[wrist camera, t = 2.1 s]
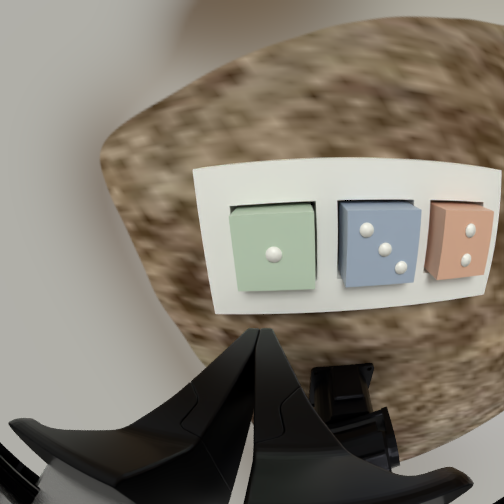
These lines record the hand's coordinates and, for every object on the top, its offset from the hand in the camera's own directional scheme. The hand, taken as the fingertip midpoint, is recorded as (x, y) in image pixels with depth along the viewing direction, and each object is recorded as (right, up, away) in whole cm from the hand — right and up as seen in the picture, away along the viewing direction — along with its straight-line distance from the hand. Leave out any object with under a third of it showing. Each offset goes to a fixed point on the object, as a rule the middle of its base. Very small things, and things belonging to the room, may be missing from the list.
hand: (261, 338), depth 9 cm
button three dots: (+8, +4, +9) cm, 13 cm away
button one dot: (+1, +4, +10) cm, 11 cm away
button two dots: (+15, +5, +8) cm, 18 cm away
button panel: (+8, +5, +10) cm, 14 cm away
